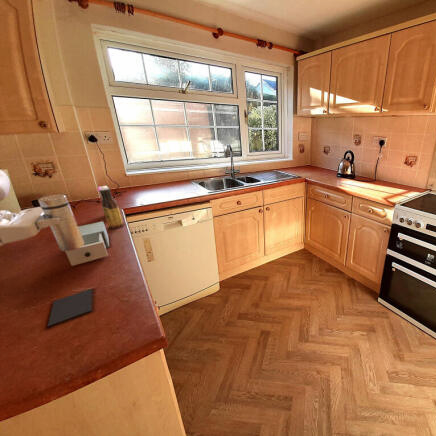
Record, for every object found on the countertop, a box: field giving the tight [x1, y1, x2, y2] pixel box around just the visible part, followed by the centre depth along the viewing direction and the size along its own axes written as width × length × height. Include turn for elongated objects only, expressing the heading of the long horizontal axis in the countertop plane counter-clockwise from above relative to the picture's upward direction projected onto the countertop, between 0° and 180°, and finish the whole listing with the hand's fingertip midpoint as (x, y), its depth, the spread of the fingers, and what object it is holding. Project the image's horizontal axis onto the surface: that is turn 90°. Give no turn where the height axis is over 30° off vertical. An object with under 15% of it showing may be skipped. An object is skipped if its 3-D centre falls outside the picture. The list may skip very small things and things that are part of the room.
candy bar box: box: [96, 185, 109, 202], centre depth 136 cm, size 11×5×16 cm, turn 38°
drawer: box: [64, 233, 109, 267], centre depth 95 cm, size 14×11×6 cm
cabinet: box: [78, 220, 110, 249], centre depth 103 cm, size 13×12×8 cm
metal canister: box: [37, 194, 85, 252], centre depth 77 cm, size 6×6×17 cm
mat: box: [47, 288, 93, 328], centre depth 70 cm, size 9×12×1 cm
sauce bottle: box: [100, 187, 124, 230], centre depth 120 cm, size 6×6×20 cm
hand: (63, 216), depth 76 cm, fingers closed on metal canister, 6 cm apart
